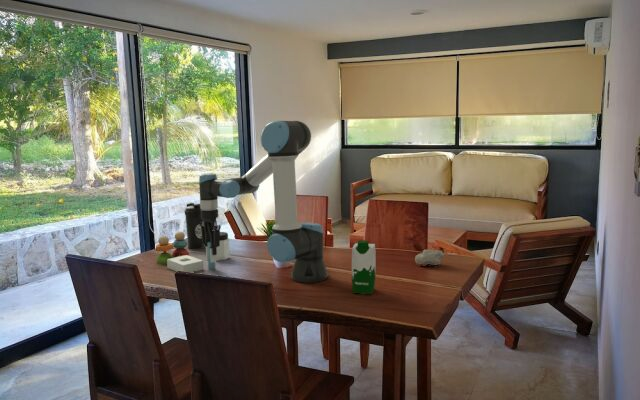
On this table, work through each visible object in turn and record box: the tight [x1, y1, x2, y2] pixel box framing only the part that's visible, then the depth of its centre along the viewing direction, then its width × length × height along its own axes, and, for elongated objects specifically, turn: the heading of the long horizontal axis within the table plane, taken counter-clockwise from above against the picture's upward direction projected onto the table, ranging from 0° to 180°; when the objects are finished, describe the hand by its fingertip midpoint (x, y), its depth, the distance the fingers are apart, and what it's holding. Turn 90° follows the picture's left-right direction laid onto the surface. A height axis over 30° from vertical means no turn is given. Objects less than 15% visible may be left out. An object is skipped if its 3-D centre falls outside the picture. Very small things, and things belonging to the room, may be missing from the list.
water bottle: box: [184, 202, 206, 250], centre depth 269 cm, size 10×10×23 cm
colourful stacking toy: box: [154, 231, 194, 265], centre depth 247 cm, size 18×17×12 cm
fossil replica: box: [414, 249, 445, 265], centre depth 231 cm, size 12×8×10 cm
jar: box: [216, 231, 230, 261], centre depth 247 cm, size 9×8×12 cm
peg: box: [207, 242, 216, 271], centre depth 229 cm, size 3×3×12 cm
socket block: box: [166, 255, 205, 273], centre depth 231 cm, size 14×10×4 cm
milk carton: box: [351, 239, 377, 295], centre depth 196 cm, size 9×9×20 cm
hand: (211, 261), depth 230 cm, fingers closed on peg, 3 cm apart
